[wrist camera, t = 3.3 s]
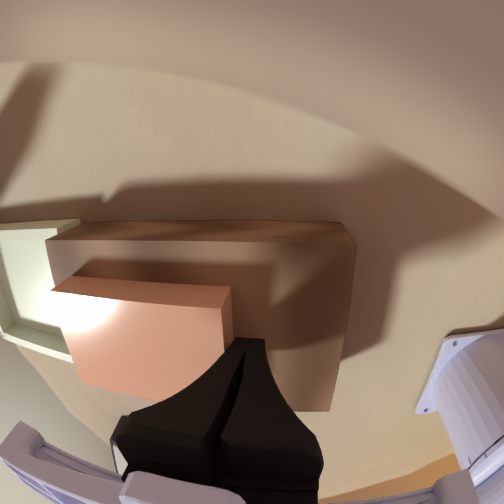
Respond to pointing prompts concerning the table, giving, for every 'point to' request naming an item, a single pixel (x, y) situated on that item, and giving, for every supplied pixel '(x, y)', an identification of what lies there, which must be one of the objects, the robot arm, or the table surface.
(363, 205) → the table surface
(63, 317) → the tile
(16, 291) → the tray
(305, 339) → the brown wooden block
